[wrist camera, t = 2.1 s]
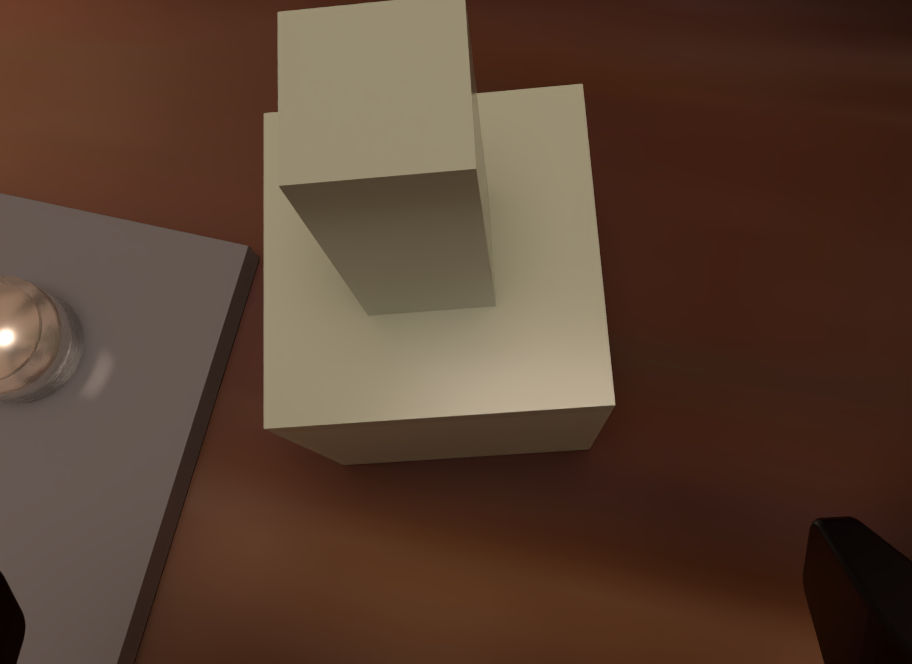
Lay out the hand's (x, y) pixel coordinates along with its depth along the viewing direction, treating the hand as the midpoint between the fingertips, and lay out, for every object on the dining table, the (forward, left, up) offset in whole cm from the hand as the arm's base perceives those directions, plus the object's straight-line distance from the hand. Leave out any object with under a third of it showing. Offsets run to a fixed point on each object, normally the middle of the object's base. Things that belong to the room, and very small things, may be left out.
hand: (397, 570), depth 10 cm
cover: (+6, +2, -13) cm, 14 cm away
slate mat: (+1, +12, -13) cm, 18 cm away
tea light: (+3, +13, -12) cm, 17 cm away
